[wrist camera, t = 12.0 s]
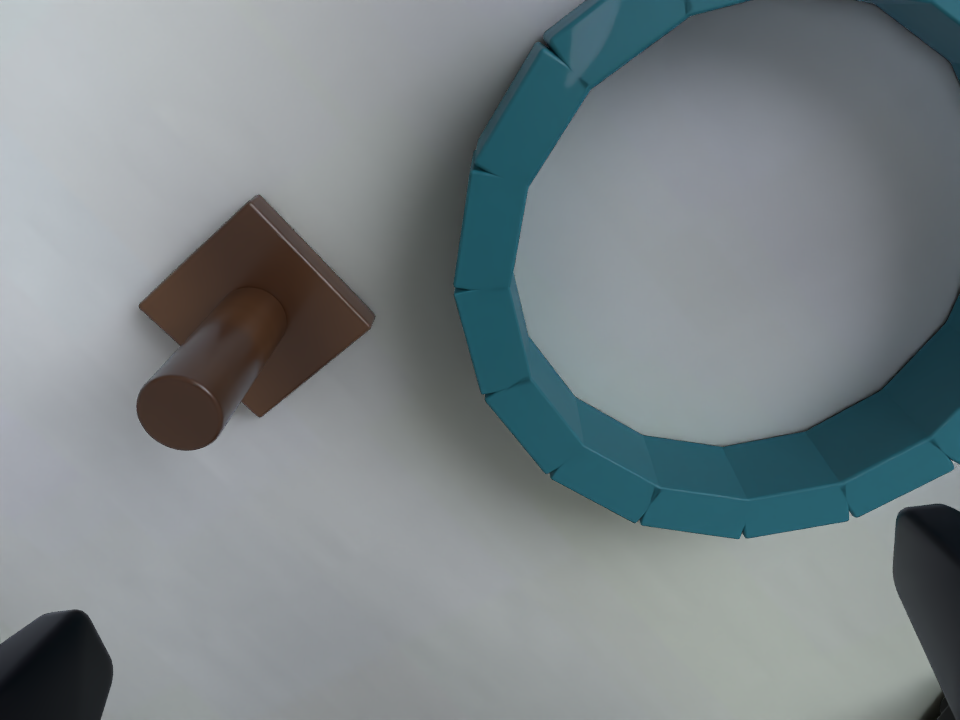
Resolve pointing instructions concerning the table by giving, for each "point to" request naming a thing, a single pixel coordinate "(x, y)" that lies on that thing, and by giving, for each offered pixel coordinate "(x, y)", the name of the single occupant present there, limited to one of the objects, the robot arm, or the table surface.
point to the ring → (610, 444)
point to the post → (243, 327)
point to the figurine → (945, 711)
